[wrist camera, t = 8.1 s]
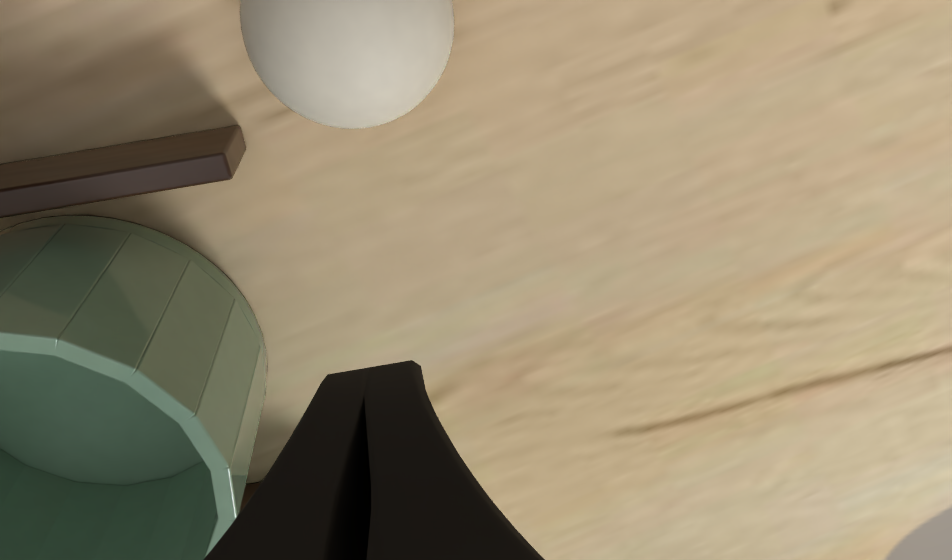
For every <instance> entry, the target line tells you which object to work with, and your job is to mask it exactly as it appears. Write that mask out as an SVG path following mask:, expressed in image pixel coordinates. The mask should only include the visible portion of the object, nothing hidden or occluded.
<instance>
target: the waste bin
mask: <svg viewBox="0 0 952 560" xmlns="http://www.w3.org/2000/svg"><path fill="white" fill-rule="evenodd" d="M266 377H267V356H266V348H265V344H264V340H263V336H262V332H261V330H260V327H259V325H258V322H257V320H256V317H255V315H254V313H253V312H252V310H251V308H250V306H249V305H248V303H247V301H246V300H245V298H244V297H243V296H242V294H241V293H240V292H239V290H238V289H237V288H236V287H235V285H234V284H233V283H232V282H231V281H230V280H229V279H228V278H227V277H226V276H225V275H224V274H223V273H222V272H221V271H220V270H219V269H218V268H217V267H216V266H215V265H214V264H212V263H211V262H210V261H209V260H207V259H206V258H205V257H203V256H202V255H201V254H199V253H198V252H196V251H195V250H193V249H191V248H190V247H188V246H187V245H185V244H183V243H182V242H180V241H178V240H176V239H174V238H171V237H169V236H167V235H165V234H163V233H161V232H159V231H156V230H153V229H150V228H147V227H144V226H141V225H139V224H135V223H131V222H126V221H122V220H118V219H113V218H104V217H96V216H58V217H49V218H41V219H37V220H33V221H29V222H25V223H21V224H18V225H15V226H13V227H10V228H8V229H5V230H2V231H0V560H203V559H204V558H205V557H206V556H207V555H208V553H209V552H210V551H211V550H212V548H213V547H214V546H215V545H216V543H217V542H218V541H219V540H220V538H221V537H222V536H223V535H224V533H225V532H226V531H227V529H228V528H229V527H230V526H231V524H232V523H233V521H234V520H235V519H236V517H237V516H238V514H239V511H240V507H241V502H242V498H243V493H244V489H245V484H246V480H247V475H248V471H249V466H250V461H251V457H252V452H253V448H254V443H255V439H256V434H257V430H258V425H259V421H260V416H261V412H262V407H263V403H264V398H265V394H266Z"/></svg>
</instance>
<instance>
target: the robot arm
mask: <svg viewBox="0 0 952 560" xmlns="http://www.w3.org/2000/svg"><path fill="white" fill-rule="evenodd" d="M203 560H545V559H544V558H542V557H541V556H540V555H539V554H538V552H537V551H536V550H535V549H534V548H533V547H532V546H531V545H530V544H529V543H528V542H527V541H526V540H525V539H524V537H523V536H522V535H521V534H520V533H519V532H518V531H517V530H516V529H515V528H514V526H513V525H512V524H511V523H510V522H509V521H508V519H507V518H506V517H505V516H504V515H503V514H502V512H501V511H500V510H499V509H498V508H497V506H496V505H495V504H494V503H493V501H492V500H491V499H490V498H489V496H488V495H487V494H486V492H485V491H484V490H483V488H482V487H481V486H480V484H479V483H478V481H477V480H476V479H475V477H474V476H473V474H472V473H471V472H470V470H469V469H468V467H467V466H466V464H465V463H464V461H463V460H462V458H461V457H460V455H459V454H458V452H457V451H456V449H455V447H454V445H453V444H452V442H451V440H450V439H449V437H448V435H447V433H446V432H445V430H444V428H443V427H442V425H441V423H440V421H439V419H438V417H437V415H436V413H435V411H434V409H433V407H432V404H431V402H430V400H429V398H428V395H427V392H426V390H425V385H424V380H423V375H422V370H421V366H420V365H418V364H417V363H415V362H414V361H412V360H411V361H405V362H399V363H393V364H387V365H381V366H375V367H369V368H364V369H358V370H352V371H346V372H340V373H334V374H328V375H327V376H326V377H325V379H324V380H323V381H322V383H321V384H320V386H319V388H318V390H317V392H316V393H315V395H314V397H313V399H312V401H311V402H310V404H309V406H308V408H307V410H306V411H305V413H304V415H303V417H302V418H301V420H300V422H299V423H298V425H297V427H296V429H295V430H294V432H293V434H292V435H291V437H290V439H289V440H288V442H287V443H286V445H285V447H284V448H283V450H282V451H281V453H280V454H279V456H278V458H277V459H276V461H275V462H274V464H273V465H272V467H271V469H270V470H269V472H268V473H267V475H266V476H265V478H264V479H263V481H262V482H261V484H260V485H259V487H258V488H257V489H256V491H255V492H254V494H253V495H252V496H251V498H250V499H249V501H248V502H247V503H246V505H245V506H244V508H243V509H242V510H241V512H240V513H239V514H238V516H237V517H236V519H235V520H234V521H233V523H232V524H231V526H230V527H229V528H228V529H227V531H226V532H225V533H224V535H223V536H222V537H221V538H220V540H219V541H218V542H217V543H216V545H215V546H214V547H213V548H212V550H211V551H210V552H209V553H208V555H207V556H206V557H205V558H204V559H203Z"/></svg>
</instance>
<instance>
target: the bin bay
mask: <svg viewBox="0 0 952 560" xmlns="http://www.w3.org/2000/svg"><path fill="white" fill-rule="evenodd" d="M245 151H246V145H245V141H244V138H243V134H242V131H241V128H240V127H239V126H230V127H224V128H218V129H212V130H206V131H200V132H194V133H188V134H182V135H176V136H170V137H164V138H158V139H152V140H146V141H140V142H134V143H128V144H122V145H116V146H110V147H103V148H97V149H91V150H85V151H79V152H73V153H67V154H61V155H55V156H49V157H43V158H37V159H31V160H25V161H19V162H13V163H7V164H1V165H0V218H3V217H9V216H15V215H21V214H27V213H33V212H39V211H45V210H51V209H57V208H63V207H69V206H75V205H81V204H87V203H93V202H99V201H105V200H111V199H117V198H123V197H129V196H135V195H141V194H147V193H153V192H159V191H165V190H171V189H177V188H183V187H189V186H195V185H201V184H207V183H213V182H218V181H224V180H230V179H232V178H233V176H234V174H235V171H236V169H237V167H238V165H239V163H240V161H241V159H242V157H243V155H244V153H245ZM260 484H261V482H259V483H253V484H248V485H245V489H244V493H243V498H242V502H241V507H240V511H239V513H240V512H241V510H242V509H243V508H244V506H245V505H246V503H247V502H248V501H249V499H250V498H251V496H252V495H253V494H254V492H255V491H256V489H257V488H258V487H259V485H260Z"/></svg>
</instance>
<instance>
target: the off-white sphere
mask: <svg viewBox="0 0 952 560" xmlns="http://www.w3.org/2000/svg"><path fill="white" fill-rule="evenodd" d="M240 22H241V30H242V35H243V40H244V44H245V47H246V50H247V53H248V56H249V58H250V60H251V62H252V64H253V67H254V69H255V71H256V72H257V74H258V75H259V77H260V78H261V80H262V81H263V83H264V84H265V85H266V86H267V88H268V89H269V90H270V91H271V92H272V94H273V95H275V96H276V97H277V98H278V99H279V100H280V101H281V102H282V103H283V104H285V105H286V106H287V107H289V108H290V109H291V110H293V111H294V112H296V113H298V114H299V115H301V116H303V117H305V118H307V119H309V120H312V121H314V122H316V123H319V124H323V125H327V126H330V127H336V128H343V129H361V128H370V127H374V126H378V125H382V124H385V123H388V122H390V121H393V120H395V119H397V118H399V117H401V116H403V115H405V114H406V113H408V112H409V111H410V110H412V109H413V108H415V107H416V106H417V105H418V104H419V103H420V102H421V101H422V100H423V99H424V98H425V97H426V96H427V95H428V94H429V93H430V91H431V90H432V89H433V88H434V86H435V85H436V83H437V82H438V80H439V78H440V77H441V75H442V73H443V71H444V69H445V67H446V64H447V62H448V59H449V55H450V52H451V48H452V43H453V37H454V13H453V3H452V0H240Z"/></svg>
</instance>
